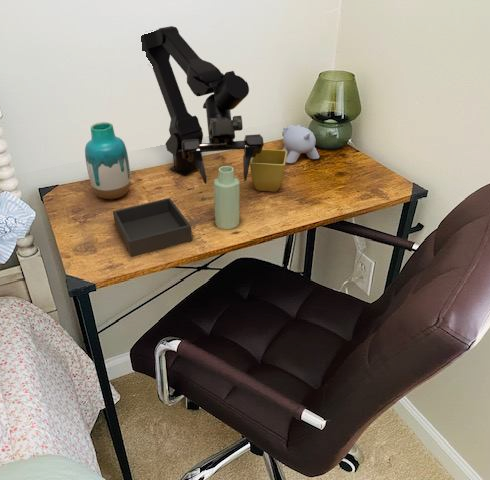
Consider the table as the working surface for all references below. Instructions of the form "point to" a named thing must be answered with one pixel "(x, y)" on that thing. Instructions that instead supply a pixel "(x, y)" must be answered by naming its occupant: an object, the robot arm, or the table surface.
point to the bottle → (226, 198)
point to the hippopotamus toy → (298, 143)
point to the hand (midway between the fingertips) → (225, 181)
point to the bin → (152, 226)
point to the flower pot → (268, 169)
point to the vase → (107, 162)
